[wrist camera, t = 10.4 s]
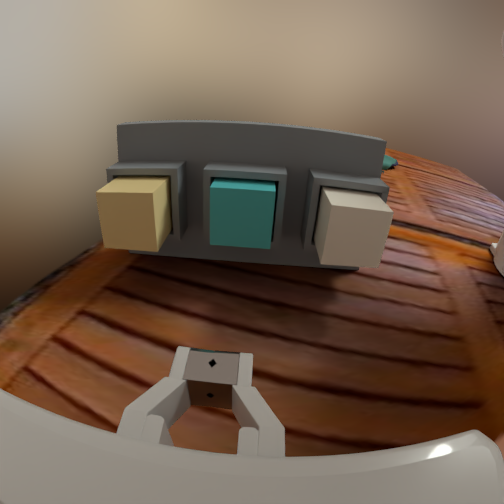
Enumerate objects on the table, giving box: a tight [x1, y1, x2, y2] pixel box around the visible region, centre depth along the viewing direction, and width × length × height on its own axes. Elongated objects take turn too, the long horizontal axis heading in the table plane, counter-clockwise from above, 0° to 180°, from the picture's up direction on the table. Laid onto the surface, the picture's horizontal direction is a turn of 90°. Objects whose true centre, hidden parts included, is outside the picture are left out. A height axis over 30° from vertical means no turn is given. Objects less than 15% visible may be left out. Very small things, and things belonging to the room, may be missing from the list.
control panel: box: [106, 120, 390, 270], centre depth 28 cm, size 25×5×14 cm, turn 87°
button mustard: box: [96, 176, 173, 252], centre depth 24 cm, size 5×4×5 cm
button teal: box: [210, 177, 276, 249], centre depth 26 cm, size 5×4×5 cm
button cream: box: [314, 186, 394, 268], centre depth 24 cm, size 5×4×5 cm
